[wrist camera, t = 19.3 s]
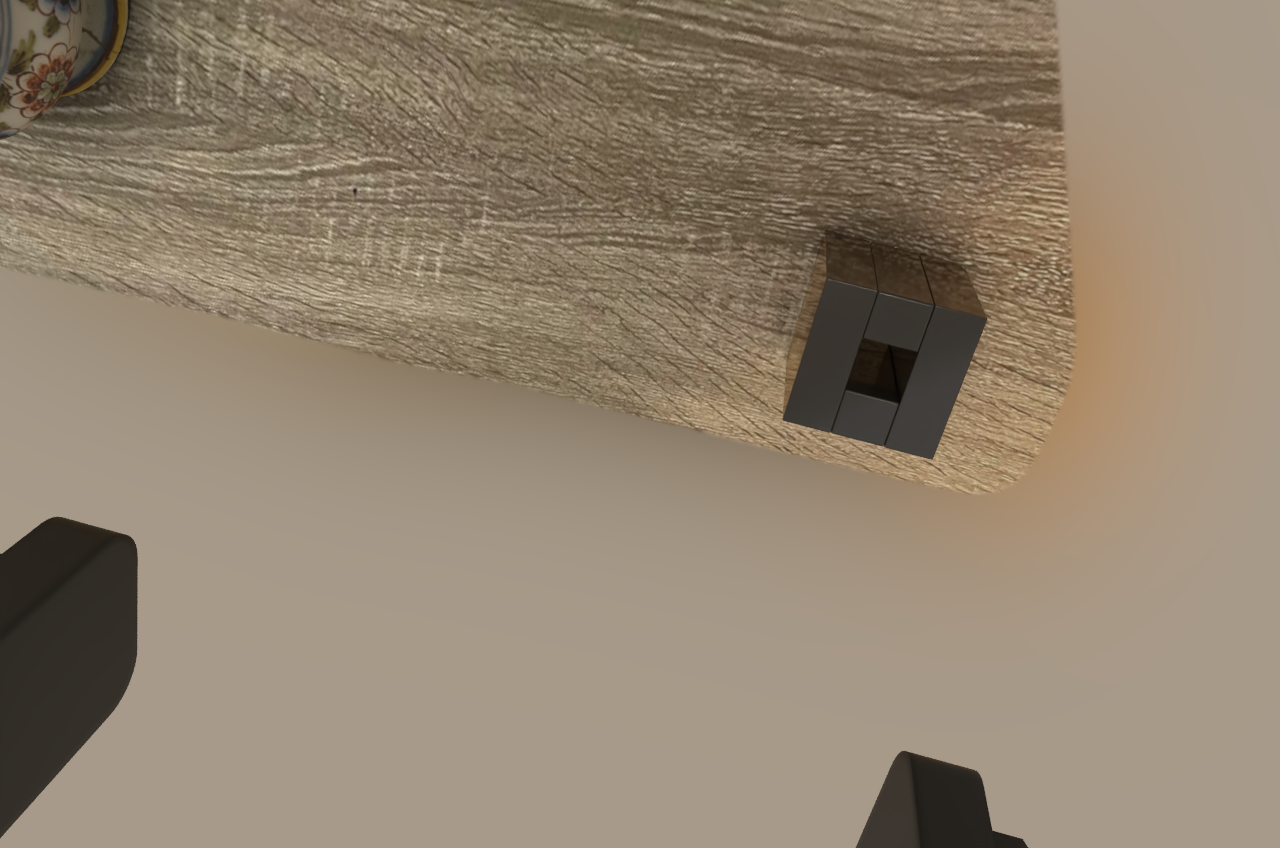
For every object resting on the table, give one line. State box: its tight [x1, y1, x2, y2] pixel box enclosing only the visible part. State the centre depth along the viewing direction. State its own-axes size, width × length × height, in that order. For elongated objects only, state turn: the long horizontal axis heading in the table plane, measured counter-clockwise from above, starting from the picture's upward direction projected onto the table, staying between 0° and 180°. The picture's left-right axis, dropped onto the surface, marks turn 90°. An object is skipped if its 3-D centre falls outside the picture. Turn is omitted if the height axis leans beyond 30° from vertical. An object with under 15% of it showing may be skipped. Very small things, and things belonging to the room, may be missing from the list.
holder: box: [783, 230, 987, 459], centre depth 45 cm, size 6×6×7 cm
